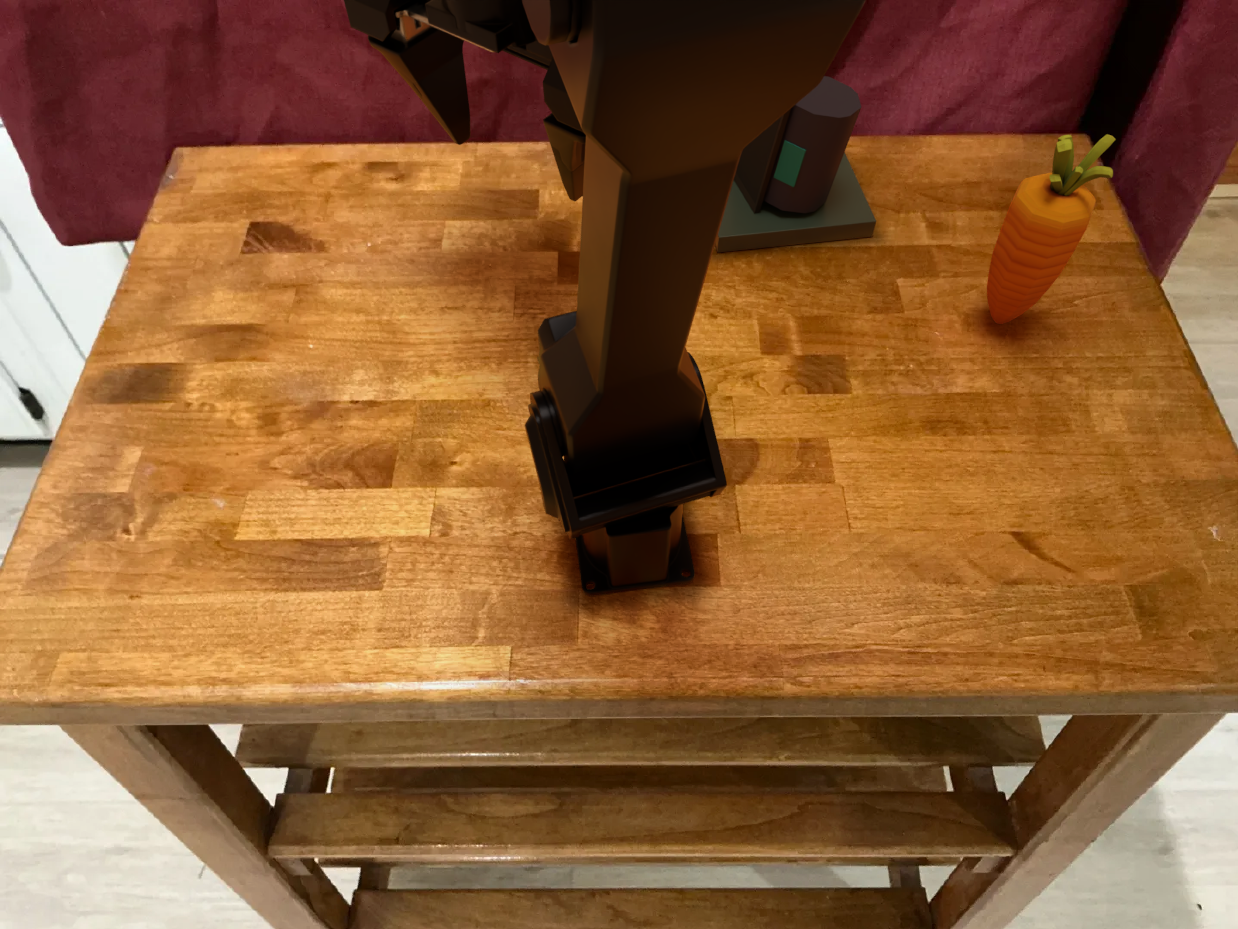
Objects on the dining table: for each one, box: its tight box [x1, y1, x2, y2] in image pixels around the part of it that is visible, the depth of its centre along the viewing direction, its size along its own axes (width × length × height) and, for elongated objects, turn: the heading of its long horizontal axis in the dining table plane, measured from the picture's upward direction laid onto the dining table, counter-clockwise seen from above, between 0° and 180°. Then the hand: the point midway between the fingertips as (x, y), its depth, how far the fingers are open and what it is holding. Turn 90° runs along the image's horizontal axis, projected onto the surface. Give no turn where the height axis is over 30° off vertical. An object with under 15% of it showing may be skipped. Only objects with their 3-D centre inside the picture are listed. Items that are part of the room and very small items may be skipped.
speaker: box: [734, 75, 862, 213], centre depth 66 cm, size 8×6×10 cm
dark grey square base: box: [714, 151, 877, 253], centre depth 70 cm, size 10×12×3 cm
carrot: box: [986, 134, 1117, 325], centre depth 57 cm, size 5×5×15 cm
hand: (518, 167), depth 55 cm, fingers open, 9 cm apart
